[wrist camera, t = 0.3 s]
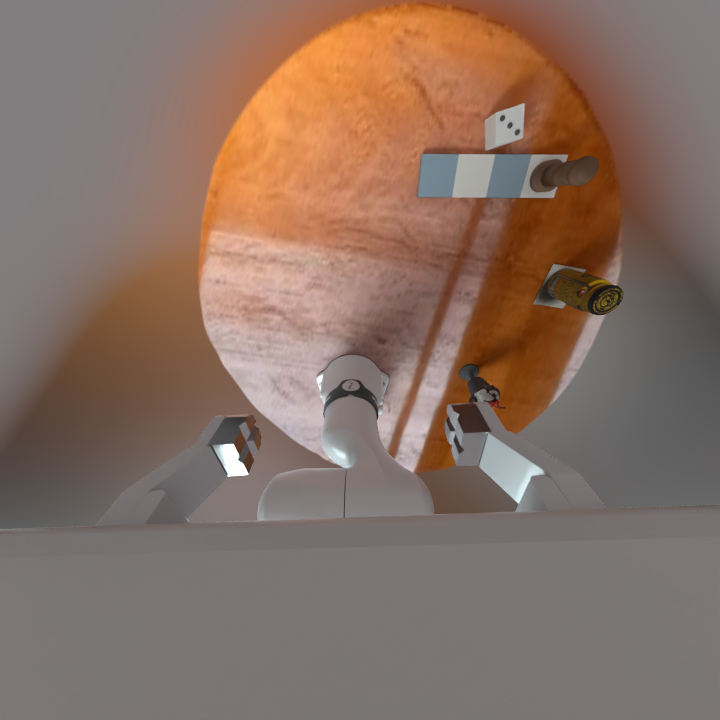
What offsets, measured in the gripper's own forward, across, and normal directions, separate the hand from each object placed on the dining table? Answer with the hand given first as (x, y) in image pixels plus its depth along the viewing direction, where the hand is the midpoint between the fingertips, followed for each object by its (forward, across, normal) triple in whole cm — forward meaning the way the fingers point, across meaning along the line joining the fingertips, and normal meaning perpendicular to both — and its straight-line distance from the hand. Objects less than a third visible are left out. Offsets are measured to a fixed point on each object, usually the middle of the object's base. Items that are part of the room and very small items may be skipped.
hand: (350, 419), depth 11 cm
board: (+47, +23, +10) cm, 53 cm away
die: (+47, +24, +16) cm, 55 cm away
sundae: (+47, +26, -32) cm, 62 cm away
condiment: (+47, +42, -11) cm, 64 cm away
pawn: (+46, +32, +9) cm, 57 cm away
